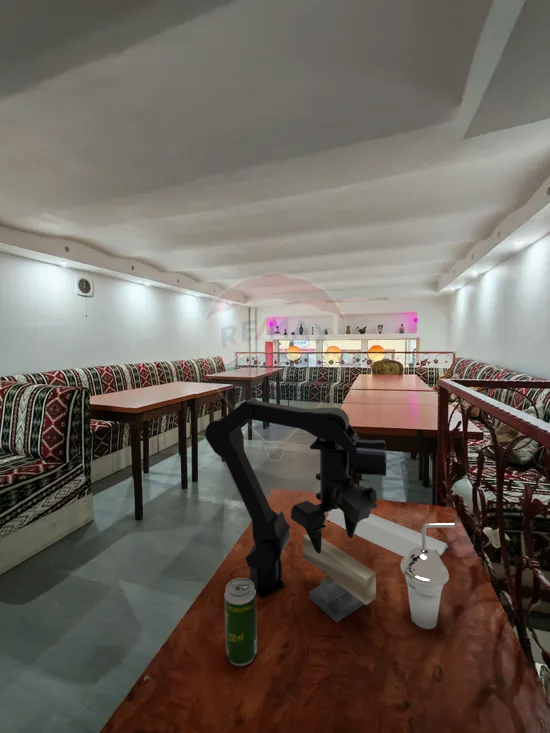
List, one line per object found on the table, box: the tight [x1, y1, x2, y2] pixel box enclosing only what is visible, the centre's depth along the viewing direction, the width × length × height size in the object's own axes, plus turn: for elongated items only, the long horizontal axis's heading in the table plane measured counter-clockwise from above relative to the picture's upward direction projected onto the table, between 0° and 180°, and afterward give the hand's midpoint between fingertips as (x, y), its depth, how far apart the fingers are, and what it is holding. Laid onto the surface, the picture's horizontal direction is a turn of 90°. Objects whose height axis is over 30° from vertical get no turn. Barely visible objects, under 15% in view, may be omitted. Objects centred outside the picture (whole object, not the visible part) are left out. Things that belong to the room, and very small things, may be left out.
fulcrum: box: [308, 575, 365, 624], centre depth 72 cm, size 8×8×6 cm
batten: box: [302, 533, 377, 606], centre depth 71 cm, size 3×18×5 cm, turn 35°
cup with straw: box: [400, 522, 456, 630], centre depth 66 cm, size 8×9×20 cm
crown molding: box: [325, 508, 449, 558], centre depth 97 cm, size 31×12×4 cm, turn 42°
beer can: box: [223, 577, 258, 667], centre depth 60 cm, size 5×5×12 cm
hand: (334, 544), depth 71 cm, fingers open, 9 cm apart
